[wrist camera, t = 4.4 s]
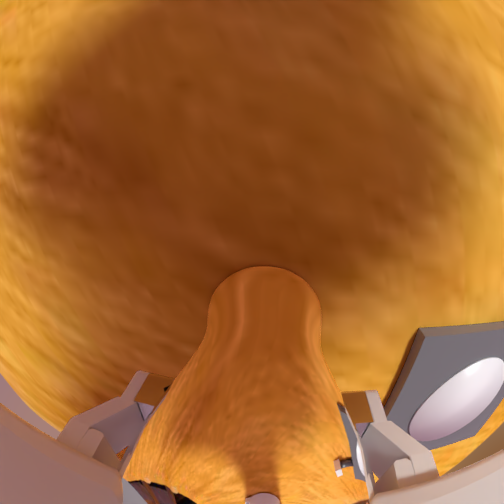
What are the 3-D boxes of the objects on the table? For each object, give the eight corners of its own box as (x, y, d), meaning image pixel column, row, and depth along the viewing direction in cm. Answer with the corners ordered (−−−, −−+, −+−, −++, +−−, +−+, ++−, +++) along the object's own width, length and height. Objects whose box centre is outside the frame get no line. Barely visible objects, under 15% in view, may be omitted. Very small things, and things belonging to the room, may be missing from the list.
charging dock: (450, 192, 12) (467, 196, 10) (564, 225, 10) (575, 230, 9) (355, 455, 19) (357, 468, 17) (471, 429, 18) (476, 439, 16)
